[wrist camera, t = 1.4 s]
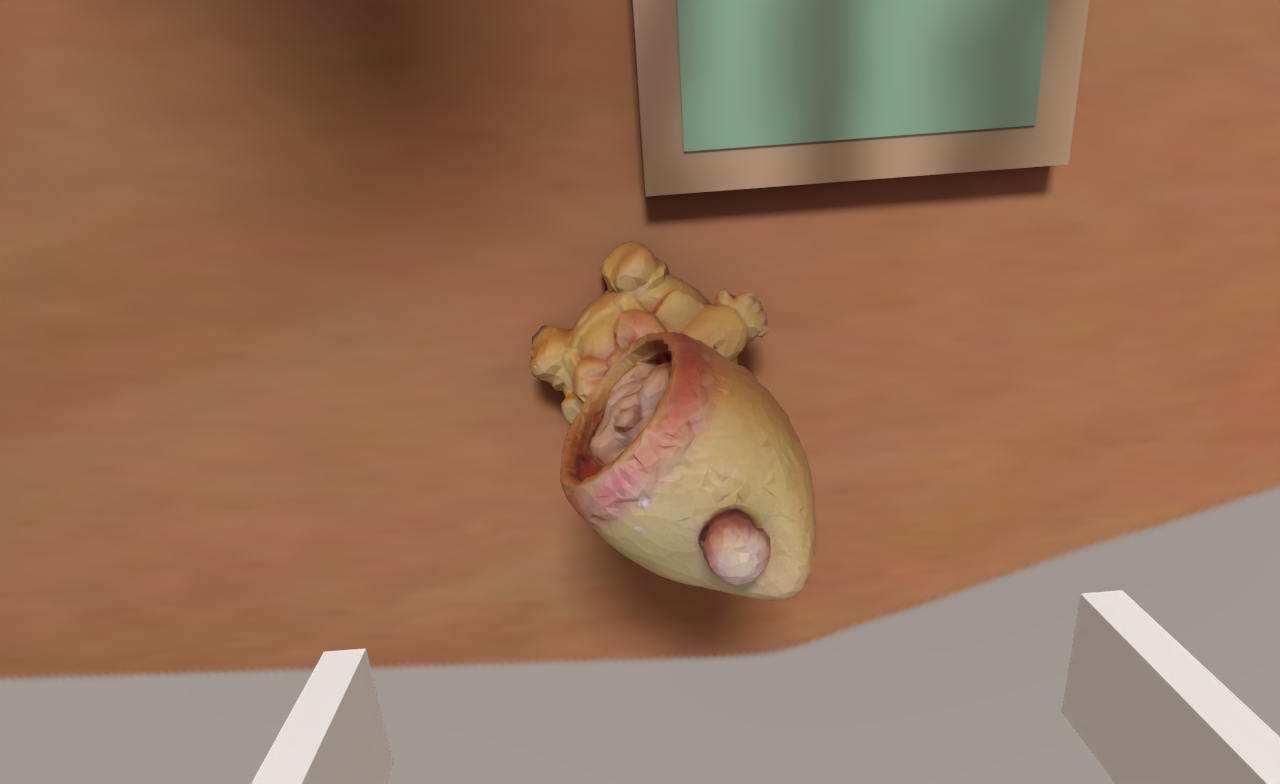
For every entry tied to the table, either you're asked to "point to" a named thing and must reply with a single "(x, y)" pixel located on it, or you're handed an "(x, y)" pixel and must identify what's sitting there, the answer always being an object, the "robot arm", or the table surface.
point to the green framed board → (851, 89)
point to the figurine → (679, 434)
